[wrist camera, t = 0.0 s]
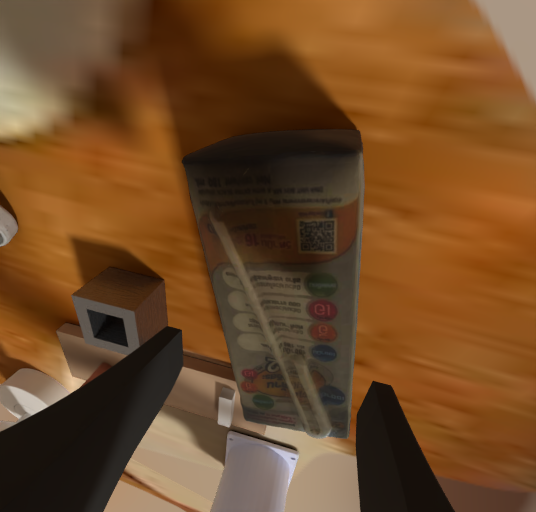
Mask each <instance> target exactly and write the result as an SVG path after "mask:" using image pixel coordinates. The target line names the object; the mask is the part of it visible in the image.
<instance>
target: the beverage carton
mask: <svg viewBox="0 0 536 512" xmlns="http://www.w3.org/2000/svg"><path fill="white" fill-rule="evenodd" d="M362 144H363V143H362V141H361V134H360V131H359V130H351V129H310V130H287V131H273V132H262V133H253V134H246V135H240V136H234V137H231V138H228V139H225V140H222V141H219V142H217V143H215V144H212V145H210V146H207V147H205V148H203V149H200V150H198V151H195V152H193V153H191V154H189V155H187V156H185V157H184V158H183V160H182V163H183V165H184V168H185V171H186V175H187V179H188V185H189V192H190V198H191V202H192V205H193V209H194V213H195V216H196V220H197V225H198V229H199V233H200V237H201V241H202V246H203V250H204V254H205V258H206V262H207V266H208V270H209V275H210V279H211V282H212V286H213V290H214V293H215V298H216V302H217V306H218V310H219V314H220V319H221V323H222V327H223V332H224V336H225V340H226V344H227V348H228V352H229V356H230V361H231V365H232V368H233V372H234V376H235V380H236V384H237V388H238V391H239V394H240V403H241V406H242V409H243V416H244V419H245V420H246V421H249V422H253V423H257V424H263V425H269V426H275V427H282V428H287V429H292V430H296V431H303V432H306V433H307V434H308V435H309V436H311V437H314V438H326V437H327V436H329V437H336V438H344V439H346V438H348V437H349V431H350V418H351V401H352V380H353V368H354V357H355V344H356V329H357V310H358V295H359V276H360V258H361V243H362V228H363V204H364V188H365V186H364V162H363V146H362Z"/></svg>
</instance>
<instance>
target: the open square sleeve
mask: <svg viewBox="0 0 536 512" xmlns="http://www.w3.org/2000/svg"><path fill="white" fill-rule="evenodd" d="M71 296H72V299H73V303H74V306H75V309H76V313H77V316H78V320H79V323H80V326H81V330H82V333H83V337H84V340H85V343H86V344H89V345H93V346H96V347H100V348H103V349H107V350H110V351H114V352H117V353H121V354H124V355H129V354H130V353H132V352H133V351H134V350H136V349H137V348H138V347H140V346H141V345H142V344H144V343H145V342H146V341H148V340H149V339H150V338H151V337H153V336H154V335H155V334H157V333H158V332H159V331H161V330H162V329H163V328H165V327H166V326H167V325H168V320H167V308H166V295H165V283H164V280H162V279H158V278H154V277H150V276H145V275H141V274H137V273H133V272H129V271H125V270H121V269H116V268H112V267H108V268H107V269H106V270H104V271H103V272H102V273H100V274H99V275H98V276H96V277H95V278H94V279H92V280H91V281H90V282H88V283H87V284H86V285H84V286H83V287H81V288H80V289H79V290H77V291H76V292H75V293H73V294H72V295H71Z"/></svg>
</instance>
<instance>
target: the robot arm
mask: <svg viewBox="0 0 536 512" xmlns="http://www.w3.org/2000/svg"><path fill="white" fill-rule="evenodd" d="M182 367H183V346H182V330H180V329H177V328H173V327H169V326H166V327H165V328H163V329H162V330H161V331H159V332H158V333H157V334H155V335H154V336H153V337H151V338H150V339H149V340H148V341H146V342H145V343H144V344H142V345H141V346H140V347H138V348H137V349H136V350H134V351H133V352H132V353H130V354H129V355H127V356H126V357H125V358H123V359H122V360H120V361H119V362H118V363H116V364H115V365H114V366H112V367H111V368H109V369H108V370H106V371H105V372H103V373H102V374H100V375H99V376H97V377H96V378H94V379H93V380H91V381H90V382H88V383H87V384H85V385H84V386H82V387H80V388H79V389H77V390H76V391H74V392H72V393H71V394H69V395H67V396H66V397H64V398H62V399H60V400H59V401H57V402H55V403H54V404H52V405H50V406H48V407H47V408H45V409H43V410H41V411H39V412H37V413H35V414H34V415H32V416H30V417H28V418H26V419H24V420H22V421H20V422H18V423H17V424H15V425H13V426H11V427H9V428H7V429H5V430H3V431H0V512H103V511H104V509H105V507H106V505H107V503H108V501H109V499H110V497H111V495H112V493H113V491H114V489H115V487H116V485H117V483H118V481H119V479H120V477H121V475H122V473H123V471H124V469H125V467H126V465H127V463H128V462H129V460H130V458H131V456H132V455H133V453H134V451H135V449H136V448H137V446H138V444H139V443H140V441H141V440H142V438H143V436H144V435H145V433H146V432H147V430H148V428H149V427H150V425H151V423H152V422H153V420H154V419H155V417H156V415H157V414H158V412H159V410H160V409H161V407H162V406H163V404H164V402H165V401H166V399H167V397H168V396H169V394H170V392H171V391H172V389H173V387H174V384H175V382H176V380H177V378H178V376H179V374H180V372H181V370H182ZM356 456H357V468H358V483H359V497H360V510H361V512H455V511H454V509H453V508H452V506H451V504H450V502H449V501H448V499H447V497H446V496H445V493H444V492H443V490H442V488H441V486H440V484H439V483H438V481H437V479H436V477H435V475H434V473H433V472H432V470H431V468H430V466H429V464H428V462H427V460H426V458H425V456H424V454H423V452H422V450H421V448H420V446H419V444H418V442H417V440H416V438H415V436H414V434H413V432H412V430H411V428H410V426H409V423H408V421H407V419H406V417H405V415H404V413H403V410H402V408H401V406H400V404H399V401H398V399H397V397H396V395H395V392H394V390H393V388H392V386H391V385H387V384H383V383H379V382H376V381H373V382H372V384H371V386H370V388H369V390H368V392H367V394H366V396H365V399H364V401H363V403H362V405H361V407H360V409H359V411H358V413H357V423H356ZM298 457H299V453H298V452H297V451H295V450H292V449H289V448H286V447H282V446H279V445H276V444H273V443H269V442H266V441H263V440H260V439H256V438H253V437H250V436H247V435H243V434H240V433H237V432H234V431H229V432H228V435H227V445H226V457H225V467H224V470H223V473H222V477H221V480H220V483H219V486H218V489H217V492H216V496H215V498H214V502H213V505H212V508H211V511H210V512H284V509H285V501H286V495H287V490H288V487H289V484H290V481H291V478H292V475H293V472H294V469H295V466H296V463H297V460H298Z"/></svg>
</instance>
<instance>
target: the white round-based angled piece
mask: <svg viewBox="0 0 536 512" xmlns="http://www.w3.org/2000/svg"><path fill="white" fill-rule="evenodd" d="M69 394H70V392H69V391H68V390H67V389H66V388H65V387H64V386H63V385H62V384H60V383H59V382H58V381H57V380H55V379H54V378H52V377H50V376H49V375H47V374H45V373H42V372H40V371H37V370H34V369H29V368H23V369H19V370H18V371H17V372H16V373H14V374H13V375H12V376H11V377H10V378H9V379H7V380H6V381H5V382H4V383H3V384H1V385H0V402H1V403H2V405H3V406H4V407H5V408H6V409H7V410H8V411H9V412H11V413H12V414H13V415H14V416H16V417H17V418H19V420H18V421H17V422H8V421H0V431H3V430H5V429H7V428H9V427H11V426H13V425H15V424H17V423H18V422H20V421H22V420H24V419H26V418H28V417H30V416H32V415H34V414H35V413H37V412H39V411H41V410H43V409H45V408H47V407H48V406H50V405H52V404H54V403H55V402H57V401H59V400H60V399H62V398H64V397H66V396H67V395H69Z"/></svg>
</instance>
